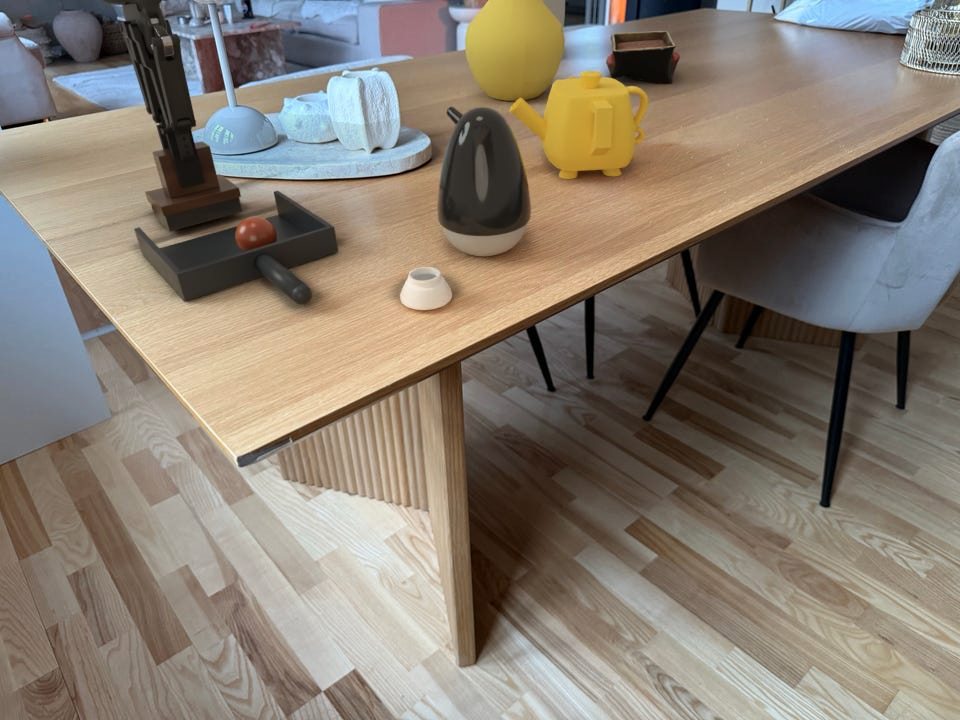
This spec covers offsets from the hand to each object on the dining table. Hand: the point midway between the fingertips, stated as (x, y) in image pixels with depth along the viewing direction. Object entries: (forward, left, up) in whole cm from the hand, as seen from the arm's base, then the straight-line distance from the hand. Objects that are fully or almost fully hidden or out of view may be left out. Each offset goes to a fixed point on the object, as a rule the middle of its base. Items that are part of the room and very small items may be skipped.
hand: (187, 180), depth 84 cm
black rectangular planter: (-12, +96, -5) cm, 97 cm away
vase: (-19, +68, -5) cm, 71 cm away
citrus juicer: (-44, +93, -5) cm, 103 cm away
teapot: (+18, +48, -5) cm, 52 cm away
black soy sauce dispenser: (+30, +22, -5) cm, 37 cm away
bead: (+15, +2, -3) cm, 15 cm away
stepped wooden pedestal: (0, 0, -4) cm, 4 cm away
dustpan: (+18, 0, -5) cm, 19 cm away
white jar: (+36, +10, -5) cm, 37 cm away
